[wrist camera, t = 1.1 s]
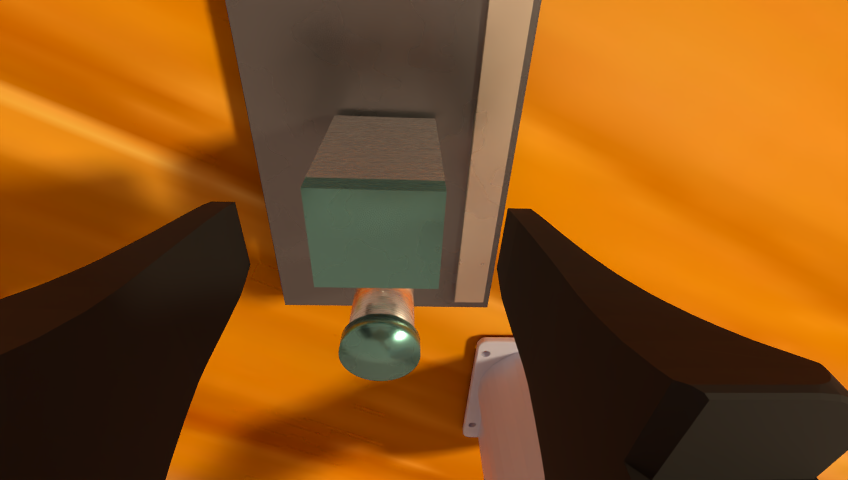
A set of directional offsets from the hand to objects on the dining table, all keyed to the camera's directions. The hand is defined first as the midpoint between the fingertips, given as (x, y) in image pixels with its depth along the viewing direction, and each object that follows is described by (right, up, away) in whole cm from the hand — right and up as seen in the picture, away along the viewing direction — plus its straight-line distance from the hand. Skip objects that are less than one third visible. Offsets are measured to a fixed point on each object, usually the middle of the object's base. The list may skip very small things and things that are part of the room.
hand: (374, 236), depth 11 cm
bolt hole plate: (0, +5, +5) cm, 7 cm away
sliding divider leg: (0, +3, +4) cm, 5 cm away
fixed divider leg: (0, 0, +8) cm, 8 cm away
